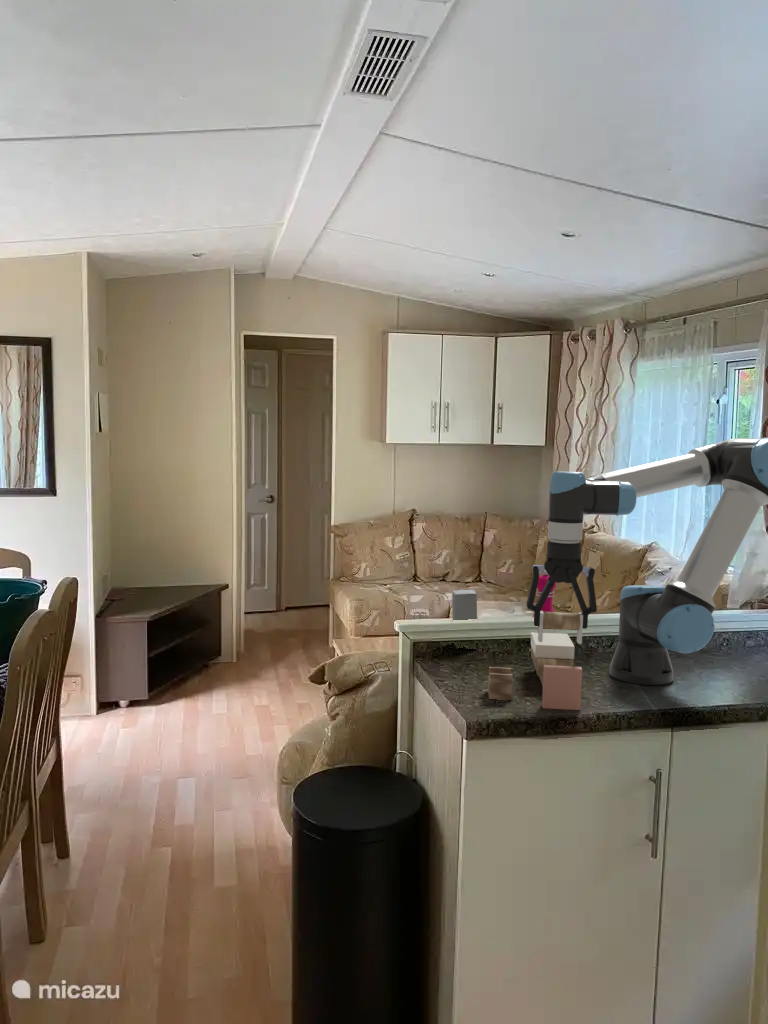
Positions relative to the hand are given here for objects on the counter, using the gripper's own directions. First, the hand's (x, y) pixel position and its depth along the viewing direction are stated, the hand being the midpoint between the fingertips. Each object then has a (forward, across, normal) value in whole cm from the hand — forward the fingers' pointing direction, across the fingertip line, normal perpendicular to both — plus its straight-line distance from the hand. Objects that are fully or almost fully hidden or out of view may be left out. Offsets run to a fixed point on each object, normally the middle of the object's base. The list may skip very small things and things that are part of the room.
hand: (559, 641), depth 182 cm
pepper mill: (+13, -3, -62) cm, 63 cm away
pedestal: (+13, +13, 0) cm, 18 cm away
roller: (-3, 0, 0) cm, 3 cm away
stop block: (+13, 0, +6) cm, 15 cm away
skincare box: (+13, +21, -44) cm, 50 cm away
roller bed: (+13, 0, -10) cm, 16 cm away
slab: (+6, 0, -15) cm, 16 cm away
